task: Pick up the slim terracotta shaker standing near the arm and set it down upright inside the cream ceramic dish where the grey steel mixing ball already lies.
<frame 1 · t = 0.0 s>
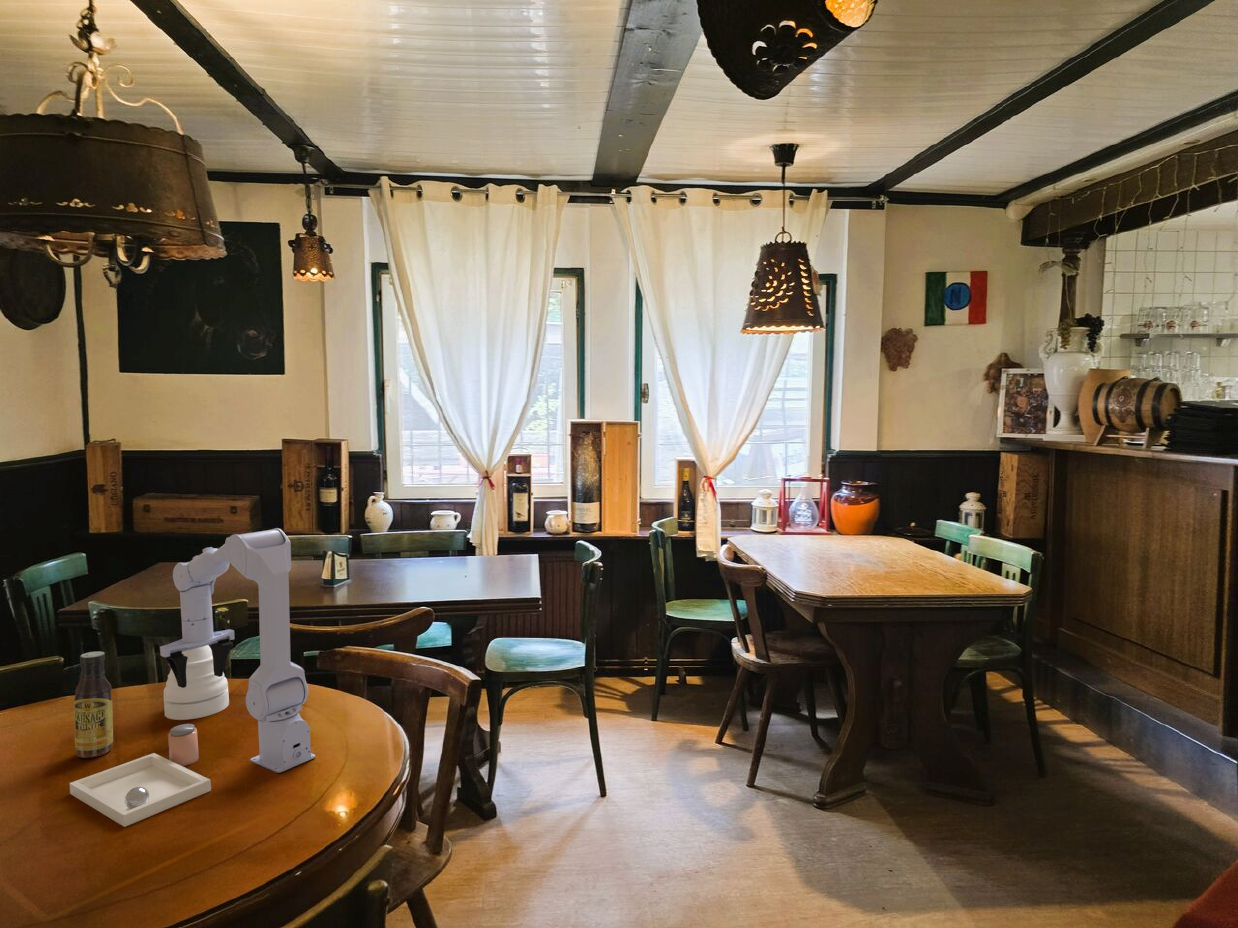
hand: (200, 680, 164), 10 cm above the table, fingers open, 7 cm apart
sauce bottle: (96, 753, 153), on the table
shaker: (184, 763, 148), on the table
dish: (141, 795, 136), on the table
mixing ball: (137, 807, 130), point 1 cm above the table, touching dish
honey pot: (197, 709, 176), on the table
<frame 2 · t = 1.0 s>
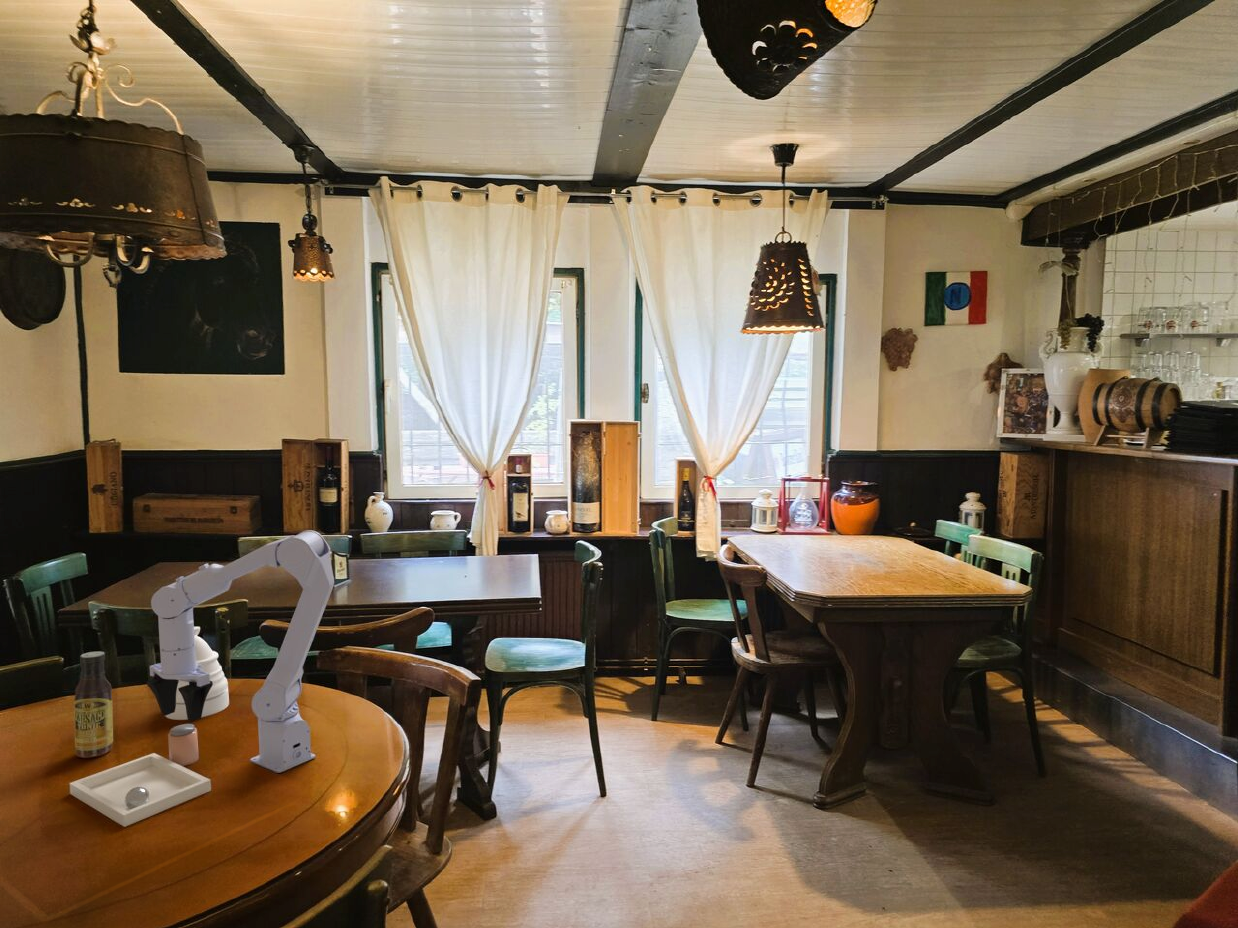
hand: (181, 716, 147), 9 cm above the table, fingers open, 7 cm apart
nothing on the table moved.
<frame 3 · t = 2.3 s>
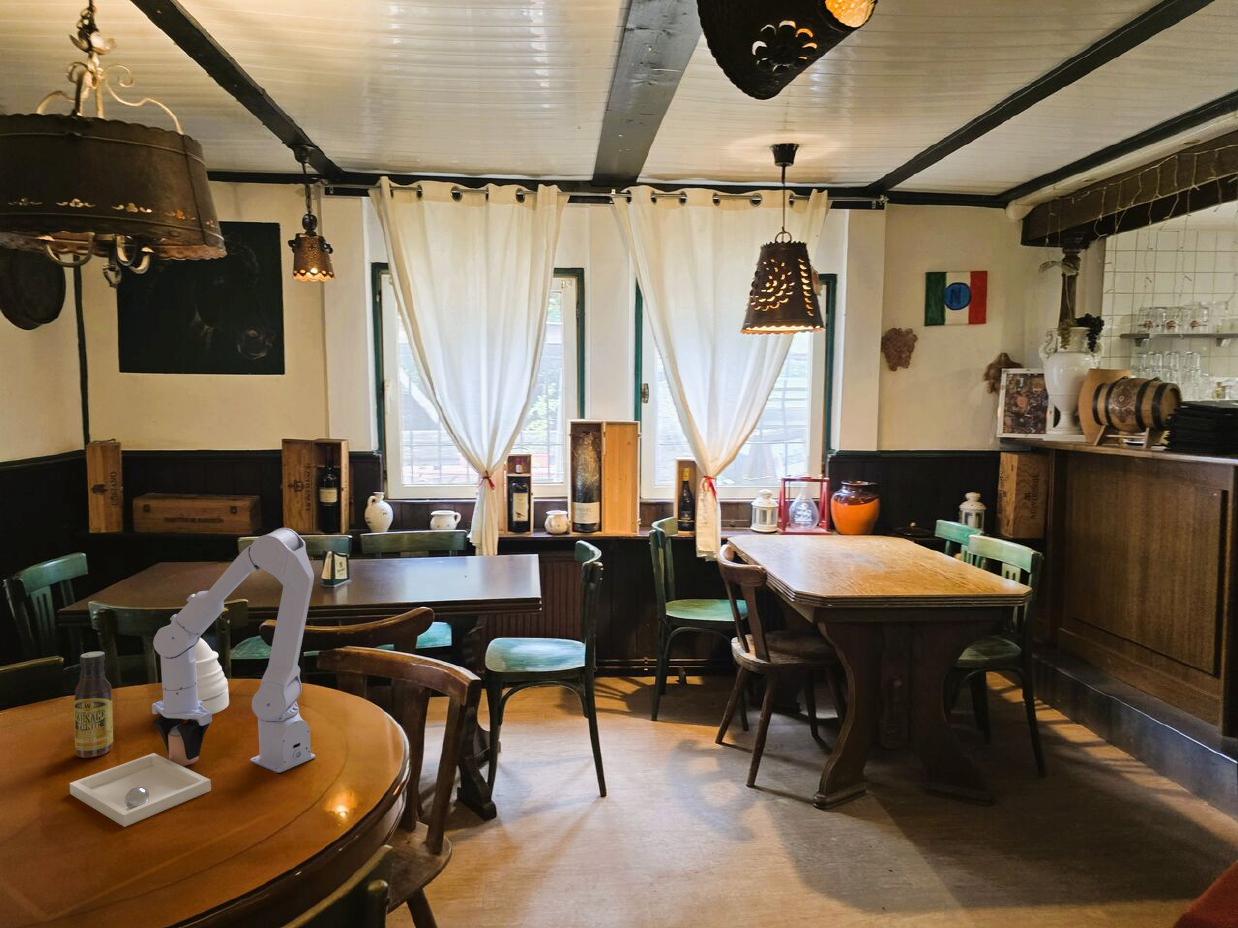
hand: (184, 754, 148), 2 cm above the table, fingers closed on shaker, 5 cm apart
shaker: (184, 763, 148), on the table, touching gripper
everything else where it was.
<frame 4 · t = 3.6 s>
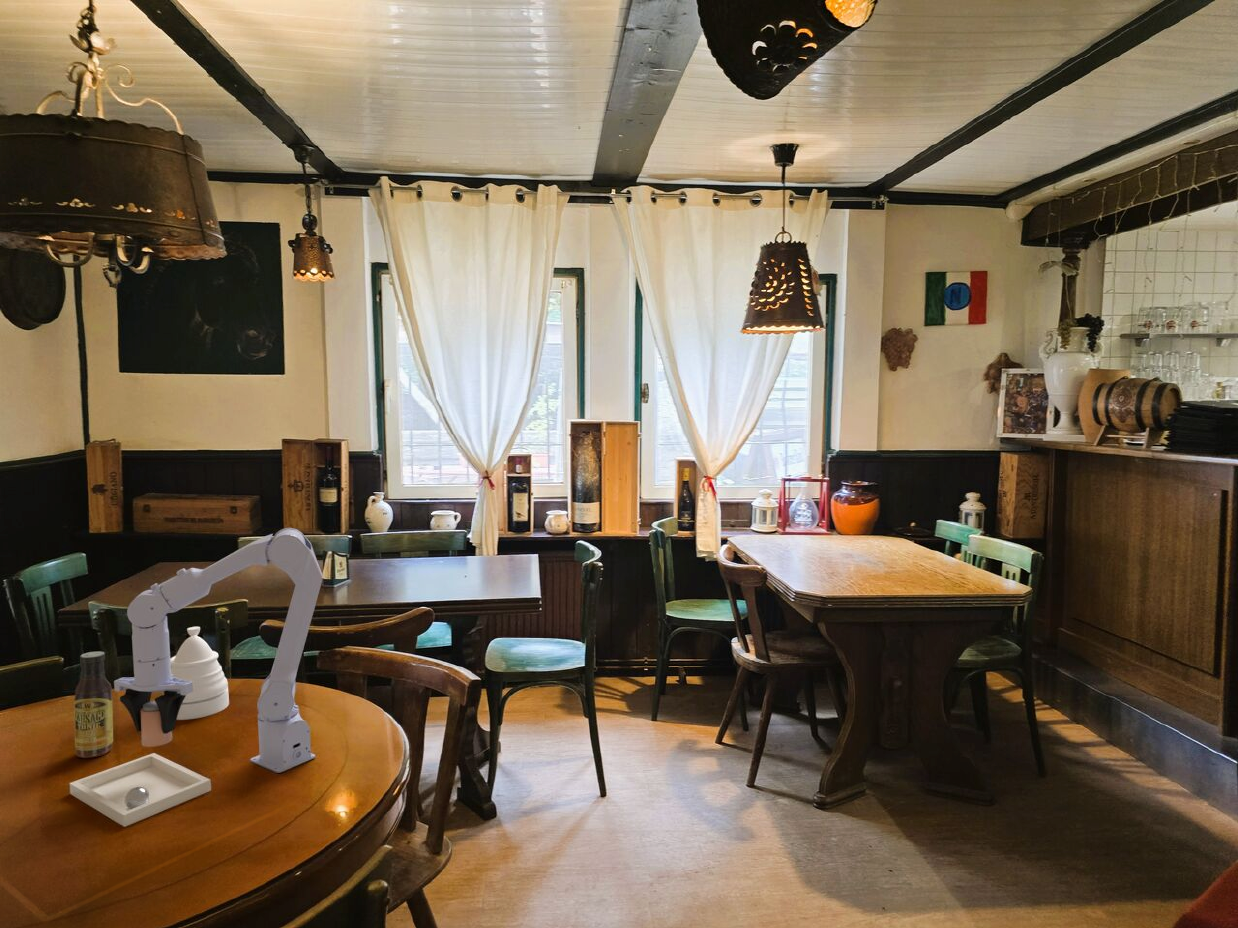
hand: (155, 730, 142), 9 cm above the table, fingers closed on shaker, 5 cm apart
shaker: (157, 741, 142), point 7 cm above the table, touching gripper
everything else where it was.
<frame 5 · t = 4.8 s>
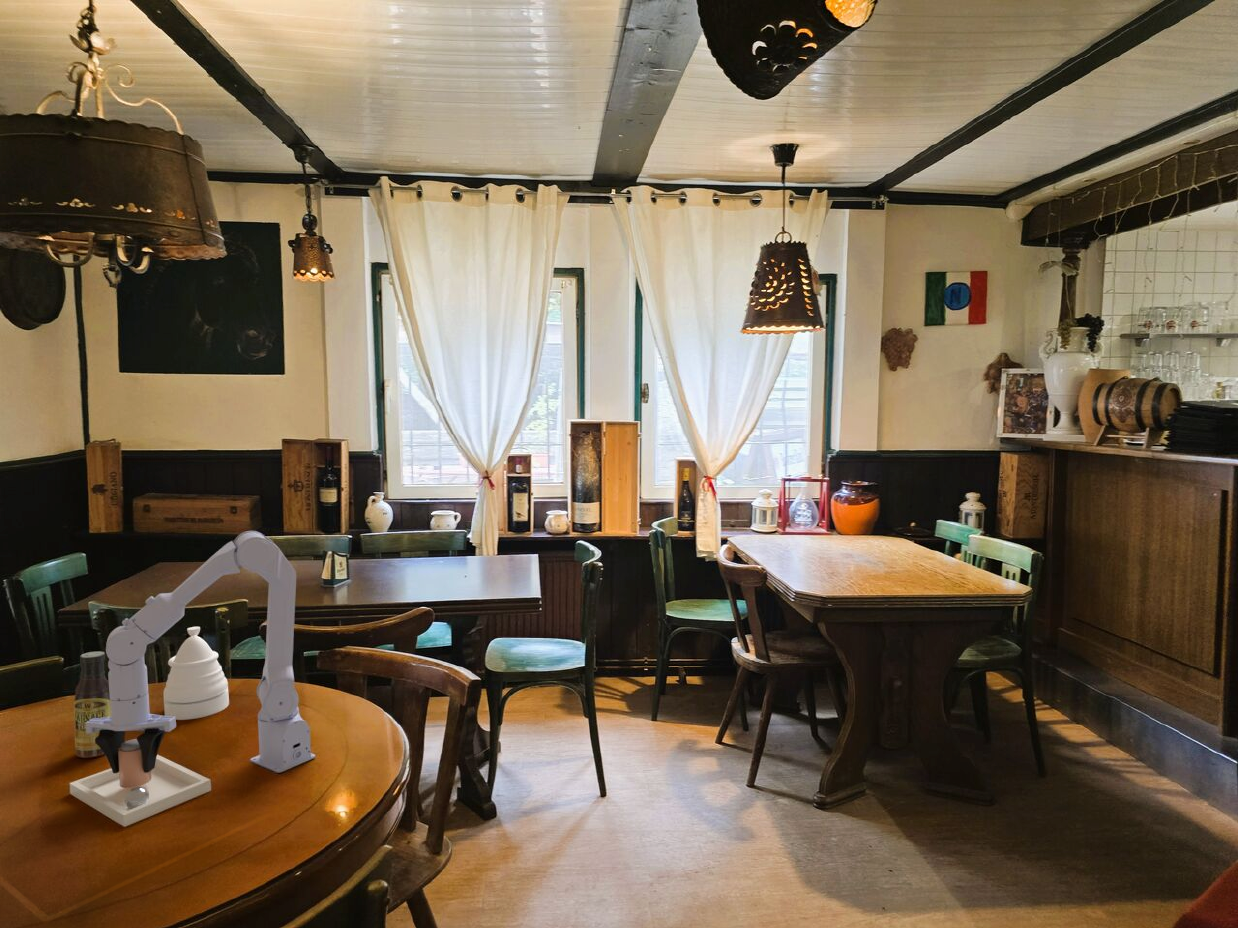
hand: (134, 770, 137), 4 cm above the table, fingers closed on shaker, 5 cm apart
shaker: (135, 781, 137), point 2 cm above the table, touching gripper
everything else where it was.
when the fingers open (4 cm above the table, at t = 5.3 s): shaker stays where it is, resting on dish.
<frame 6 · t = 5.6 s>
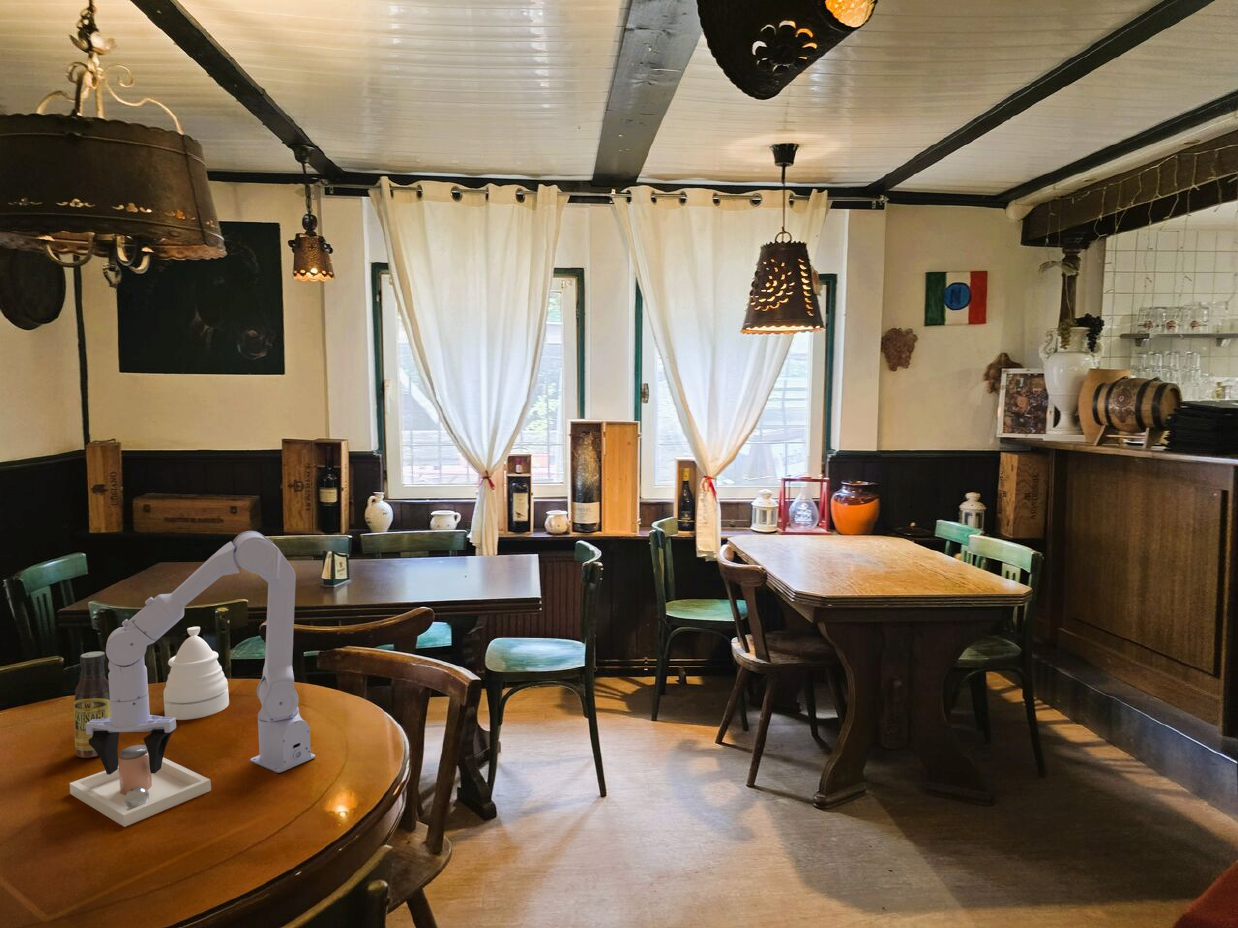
hand: (134, 771, 137), 4 cm above the table, fingers open, 7 cm apart
shaker: (136, 787, 137), point 1 cm above the table, touching dish
everything else where it was.
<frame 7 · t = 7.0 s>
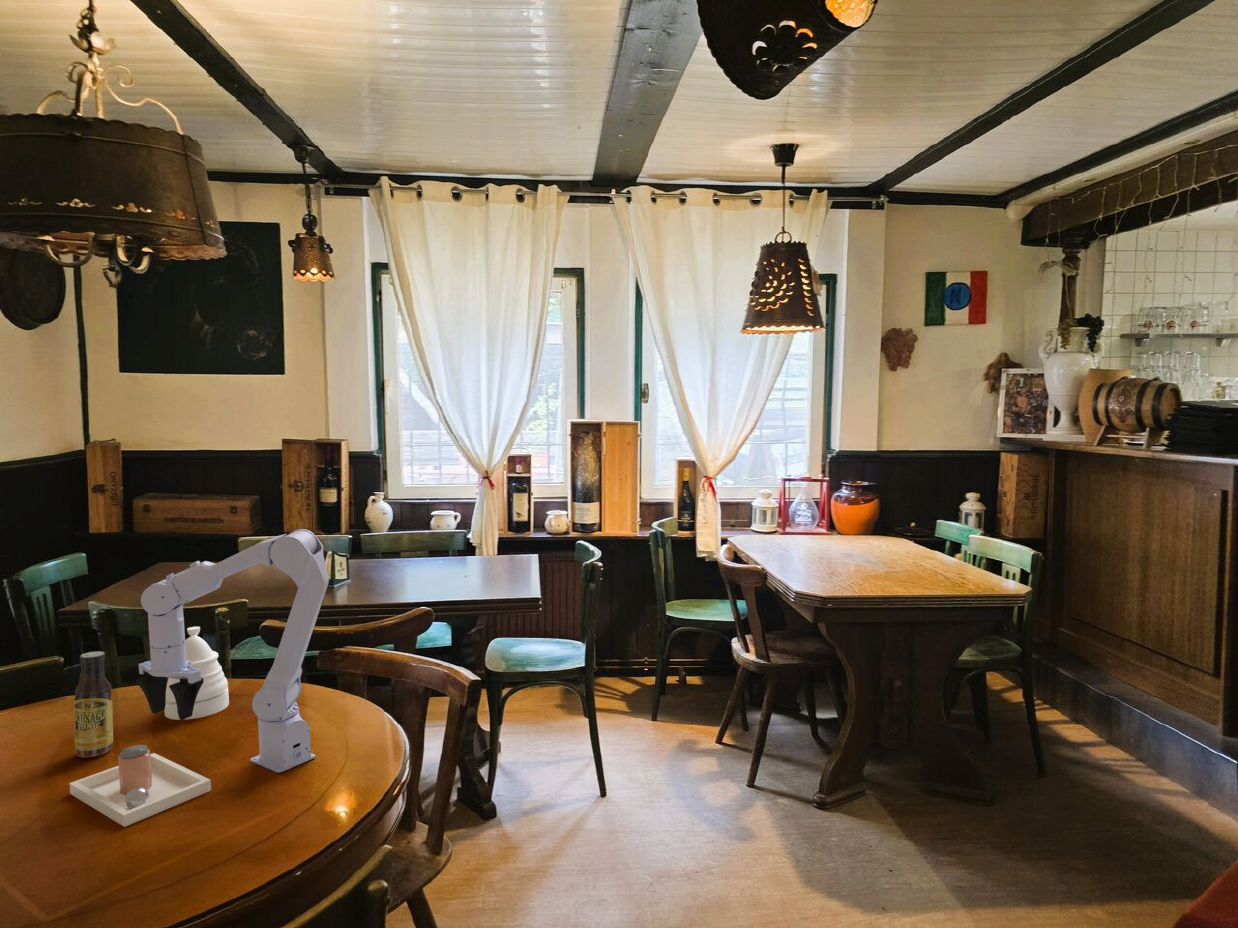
hand: (172, 714, 147), 10 cm above the table, fingers open, 7 cm apart
nothing on the table moved.
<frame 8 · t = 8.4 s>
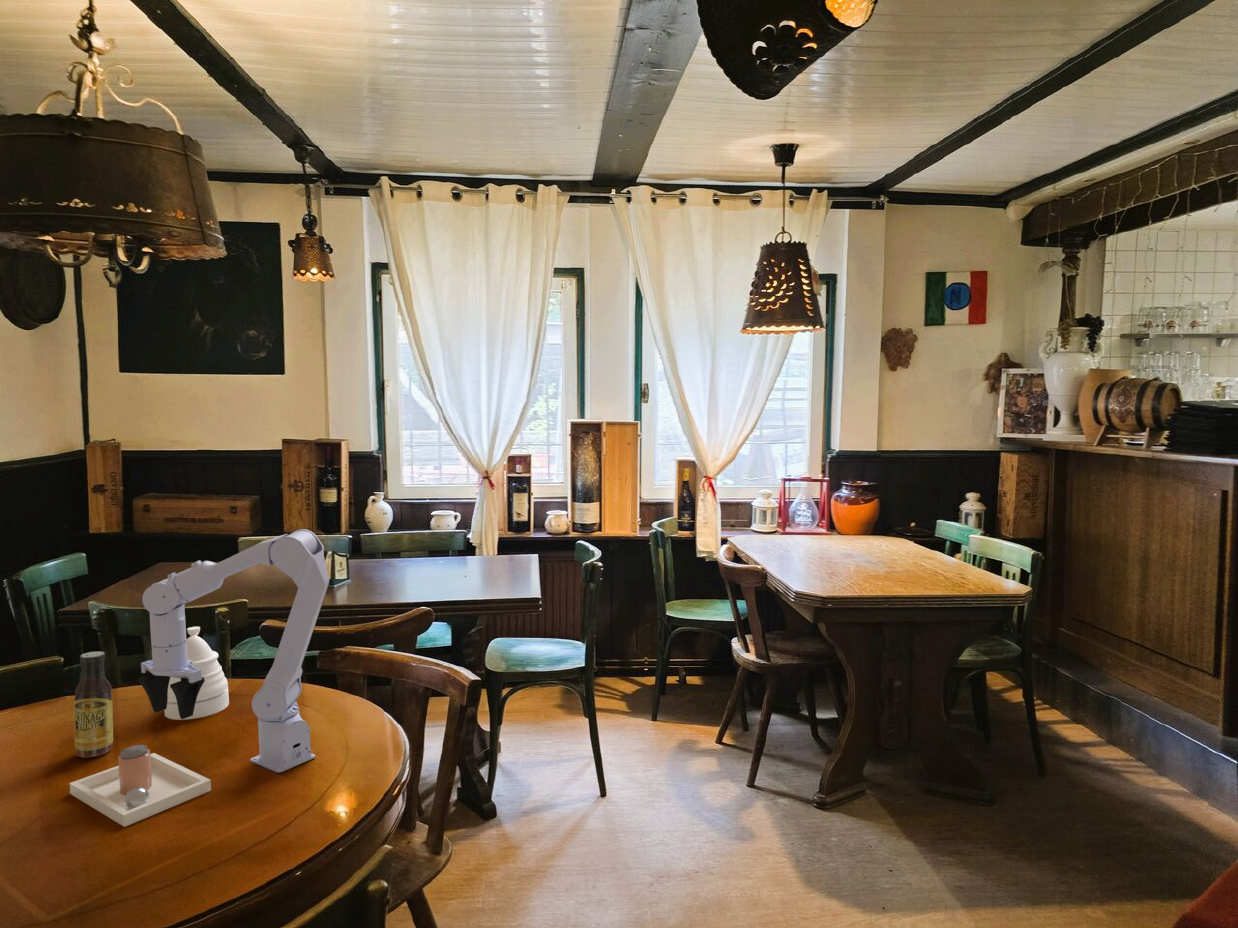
hand: (173, 713, 147), 10 cm above the table, fingers open, 7 cm apart
nothing on the table moved.
at the end: shaker inside the target area on the dish (2.1 cm from its centre), point 0.6 cm above the dish's base; shaker tilted 0°; the gripper is holding nothing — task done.
